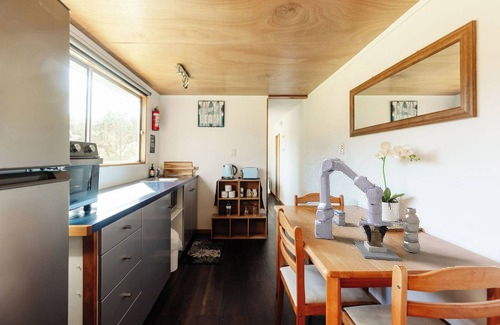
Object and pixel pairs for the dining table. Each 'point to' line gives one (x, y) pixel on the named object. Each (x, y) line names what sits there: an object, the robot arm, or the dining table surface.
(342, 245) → the dining table surface
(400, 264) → the dining table surface
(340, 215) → the medicine box
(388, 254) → the dock board
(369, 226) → the tube
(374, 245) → the walnut block
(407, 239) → the plastic bottle
